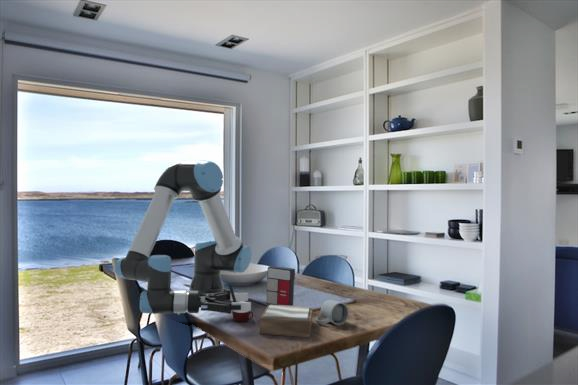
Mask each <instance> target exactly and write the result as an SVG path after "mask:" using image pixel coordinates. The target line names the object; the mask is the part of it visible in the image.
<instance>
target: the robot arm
mask: <svg viewBox="0 0 578 385" xmlns="http://www.w3.org/2000/svg"><path fill="white" fill-rule="evenodd" d="M223 179H224V175H223V172H222V169H221V168H220V166H219V165H218V164H217V163H215V162H213V161H210V160H209V161H207V160H197V161H196V160H195V161H193V160H189V161H188V160H187V161H185V160H181V161H176V162H174V163H172V164H171V165H170V166H168V167H167V168H166V169H165V170H164V171H163V172H162V174H161V175H160V176H159V178H158V180H157V181H156V184H155V186H154V188H153V190H154V194H153V197H152V198H151V201H150V203H149V206H148V207H147V209H146V212H145V214H144V217H143V218H142V221H141V223H140V225H139V227H138V229H137V231H136V234H135V236H134V237H133V241H132V242H131V245H130V247H129V250H128V251H127V254H126V256H121V257H120V258H119V259H117V260H116V262H115V264H114V273H115V274H116V276H117V277H119V278H121V279H125V280H132V281H139V282H145V283H147V286H146V287H147V289H146V290H143V291H142V292H141V293H140V297H139V310H140V312H141V313H142V314H152V315H155V314H176V315H178V316H179V315H180V314H186V313H188V314H199V312H200V311H207V312H216V313H225V314H228V315H231V314H232V311H250V312H252V302H251V301H249V292H234V295H235V298H236V302H233V299H232V295H231V292H230V290H227V291H224V288H225V287H224V283H223V279H222V277H221V271H223V272H230V273H235V274H236V273H237V274H238V273H240V274H242V273H244V272H246V271H247V269H248V268H249V266H250V263H251V260H252V250H251V247H249V246H247V245H243V241H242V239H241V238H240V237H239V236H236V234H235V231H234V228H233V226H232V223H231V221H230V218H229V216H228V213H227V210H226V209H225V205H224V203H223V201H222V198H221V195H220V193H221V191H222V187H223V184H224V180H223ZM182 192H189V193H190V195H191V197H192V199H193V201H195V202H198V204H199V206H200V208H201V211H202V212H203V215H204V218H205V220H206V222H207V225H208V227H209V229H210V231H211V235H212V237H213V240H203V241H197V242H196V243H195V246H194V261H193V263H194V266H193V267H194V268H193V277H192V279H191V282H190V285H189V291H188V290H171V280H172V269H173V268H172V258H171V256H169V255H166V254H155V255H154V254H153V255H151V254H152V252H153V250H154V246H155V245H156V243H157V239H158V238H159V235H160V233H161V231H162V228H163V226H164V224H165V221H166V219H167V217H168V214H169V213H170V210H171V208H172V205H173V203H174V201H175V200H177V199H178V198H179V196H180V194H181V193H182ZM225 301H230V302H225ZM239 301H245V302H239Z"/></svg>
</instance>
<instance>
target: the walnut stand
mask: <svg viewBox="0 0 578 385" xmlns="http://www.w3.org/2000/svg"><path fill="white" fill-rule="evenodd" d="M312 324H313V307H310V306H300V305H293V306H287V305H272V304H268V305H267V306H266V307H265V309H264V311H263V313H262V314H261V316H260V318H259V335H272V336H273V335H274V336H289V337H304V338H311V332H312Z"/></svg>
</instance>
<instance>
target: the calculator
mask: <svg viewBox="0 0 578 385" xmlns="http://www.w3.org/2000/svg"><path fill="white" fill-rule="evenodd" d="M266 276H267V278H266V304H268V305H287V306H294V290H295V289H294V288H295V278H296V269H295V268H292V267H291V268H290V267H283V266H275V265H274V266H273V265H272V266H268V267H267V275H266Z"/></svg>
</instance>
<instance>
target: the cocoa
mask: <svg viewBox="0 0 578 385" xmlns="http://www.w3.org/2000/svg"><path fill="white" fill-rule="evenodd" d="M228 288H229V291H230V294H231V295H232V299H233V301H232V302H237V301H236V298H235V295H234V293H235V292H234V288H233V285H232V284H231V283H230V284H229V285H228ZM238 302H246V301H238ZM231 314H232V318H233V320H234V321H236V322H237V323H244V322H247V321H249V320H251V319H252V318H253V317H254V312H252V311H231ZM250 314H251V315H250ZM250 316H251V317H250Z"/></svg>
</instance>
